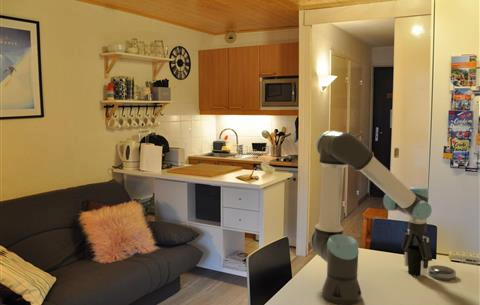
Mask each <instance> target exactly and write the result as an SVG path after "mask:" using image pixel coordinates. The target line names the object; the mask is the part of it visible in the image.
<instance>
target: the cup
mask: <svg viewBox="0 0 480 305" xmlns="http://www.w3.org/2000/svg"><path fill="white" fill-rule="evenodd" d="M407 256H408V266H407V269H408V271H407V272H408V274H409V276H413V277H421V276H422V275H421V260H423V259H422V256H421V252H420V249H419V246H418V245H417V244H413V245H410V246H407Z"/></svg>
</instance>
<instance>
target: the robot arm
mask: <svg viewBox="0 0 480 305" xmlns="http://www.w3.org/2000/svg"><path fill="white" fill-rule="evenodd" d="M316 150H317V152H318V154H319V164H320V165H321V166H322V173H321V174H322V176H321V191H320V202H319V205H320V206H319V218H318V219H319V220H318V221H319V222H317V223H316V224H315V226H314V228H315V229H314V231H313V232H312V233H311V235H310V239H309V240H310V242H309V243H310V246H311V248H312V250H313V252H315V254H316V255H317V256H319V257H320V258H321V259H322V260H324V261H325V262H326V263H327V264H326V265H327V266H326V278H325V280H324V283H323V286H322V288H321V290H322V291H321V295H322V297H323V299H324V300H326V301H328V302H329V303H333V304H336V305H354V304H357V303H359V302H361V300H362V290H361V286H360V283H359V280H358V271H359V270H358V268H359V266H358V265H359V264H358V263H359V251H360V250H359V244H358V241H357V240H356V239H355V238H353V237H352V236H349V235H348V236H347V235H346V234H344V227H342V225H341V212H342V200H343V186H344V171H345V168H346V167H347V166H349V167H351V168H352V169H353V170H355V171H357V172H361V173H362V174H363V175H364V176H365V177H366V178H368V179H369V180H370V181H371V182H372V183H373V184H374V185H375V186H376V187H377V188H379V189H380V190H381V191H383V193H384V196H383V201H382V202H383V207H384V208H385V210H387V211H393V212H394V211H398V212H401V213H403V214H405V215H407V216H408V226H407V229H404V233H403V234H404V235H403V239H402V243H401V244H400V245H401V246H400V249H401V250H402V251H403V252H404V253H403V257H404V264H403V265H404V267H408V256H407V246H410V245H415V244H416V245H417V246H419V249H420V252H421V256H422V259H423V260H421V276H426V275H428V268H429V262H431V261H433V255H432V248H431V237H429V236H428V237H427V236H426V235H425V233H426V232H427V225H428V223H427V222H428V221H427V220H428V218H430V216H431V214H432V212H433V211H432V210H433V208H432V206H431V204H430V203H429V189H428V188H427V187H424V186H419V185H418V186H410V188H408V187H407V186H406V185H405V184H404V183H403V182H402V181H401V180H400V179H398V178H397V176H395V174H393V173H392V172H391V171H390V170H389V169H388V168H387V167H386V166H385V165H384V164H382V163H381V161H379V160H378V159H377V158H376V157H375V156H374V152H373V151H372V149H370V148H369V147H368V146H367V145H366V144H365V143H364V142H363V141H362V140H360V139H359V138H358V137H357V136H355V135H354V134H352V133H350V132H347V131H346V132H345V131H339V130H327V131H325V132H323V133H322V134H321V135H320V136H318V139H317V141H316ZM414 243H415V244H414Z"/></svg>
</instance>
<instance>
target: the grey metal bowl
mask: <svg viewBox="0 0 480 305" xmlns="http://www.w3.org/2000/svg"><path fill="white" fill-rule="evenodd" d="M456 274H457V272H456V270H455V269H453V268H451V267H448V266H446V265H445V266H444V265H430V266H428V268H427V275H428V276H429V277H431V278H433V279H436V280H438V281H445V282H446V281H447V282H448V281H449V282H450V281H454V280H455V279H456V276H457V275H456Z"/></svg>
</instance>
